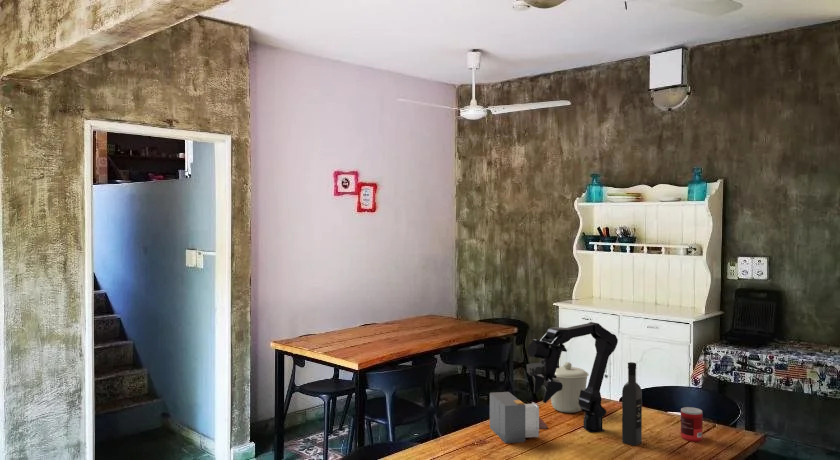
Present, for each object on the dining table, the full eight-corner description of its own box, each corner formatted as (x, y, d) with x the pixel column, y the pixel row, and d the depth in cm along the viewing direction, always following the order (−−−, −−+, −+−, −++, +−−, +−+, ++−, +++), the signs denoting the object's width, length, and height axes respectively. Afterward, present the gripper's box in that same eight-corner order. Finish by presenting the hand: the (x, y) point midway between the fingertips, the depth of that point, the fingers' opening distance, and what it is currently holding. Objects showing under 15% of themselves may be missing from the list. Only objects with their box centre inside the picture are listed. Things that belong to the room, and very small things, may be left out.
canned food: (701, 436, 241) (701, 408, 241) (703, 443, 234) (703, 413, 234) (680, 434, 244) (680, 406, 244) (681, 440, 236) (681, 411, 236)
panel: (533, 432, 242) (533, 402, 242) (538, 437, 237) (538, 406, 236) (514, 433, 240) (514, 403, 240) (519, 438, 235) (519, 407, 235)
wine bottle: (642, 443, 234) (643, 363, 234) (634, 446, 230) (635, 365, 230) (628, 439, 238) (629, 360, 238) (620, 442, 234) (621, 362, 234)
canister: (551, 402, 288) (551, 356, 288) (591, 406, 281) (591, 360, 281) (542, 412, 272) (542, 364, 272) (585, 417, 265) (585, 368, 265)
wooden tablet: (549, 430, 250) (549, 426, 250) (524, 430, 250) (524, 426, 250) (534, 411, 277) (534, 407, 277) (512, 411, 276) (512, 407, 276)
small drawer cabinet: (510, 426, 254) (510, 391, 253) (527, 441, 235) (527, 403, 235) (489, 427, 252) (489, 392, 252) (505, 443, 233) (505, 405, 233)
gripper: (523, 348, 248) (512, 384, 250) (541, 364, 230) (529, 403, 231) (548, 353, 251) (537, 390, 252) (568, 370, 233) (556, 409, 234)
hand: (539, 397), depth 242 cm, fingers open, 9 cm apart
